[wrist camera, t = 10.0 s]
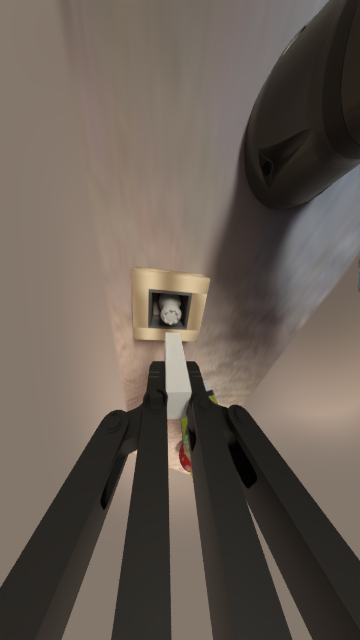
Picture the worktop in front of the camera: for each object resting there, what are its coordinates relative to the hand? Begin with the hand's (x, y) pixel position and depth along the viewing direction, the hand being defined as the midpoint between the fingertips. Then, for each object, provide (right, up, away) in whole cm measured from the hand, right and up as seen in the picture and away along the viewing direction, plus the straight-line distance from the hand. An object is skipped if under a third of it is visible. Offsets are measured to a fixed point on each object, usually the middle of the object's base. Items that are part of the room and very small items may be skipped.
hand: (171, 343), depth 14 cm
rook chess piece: (-1, +6, +13) cm, 14 cm away
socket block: (-2, +6, +13) cm, 14 cm away
